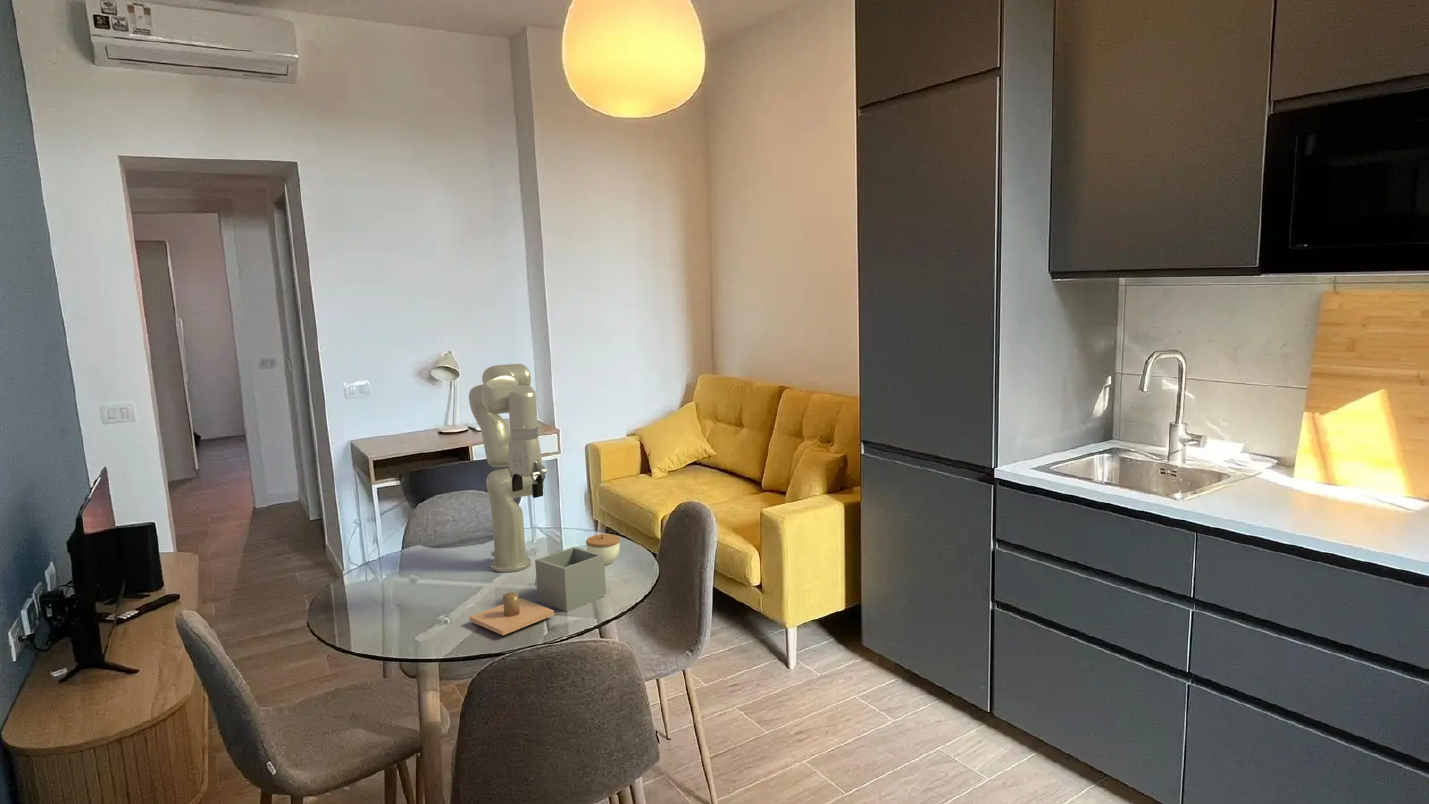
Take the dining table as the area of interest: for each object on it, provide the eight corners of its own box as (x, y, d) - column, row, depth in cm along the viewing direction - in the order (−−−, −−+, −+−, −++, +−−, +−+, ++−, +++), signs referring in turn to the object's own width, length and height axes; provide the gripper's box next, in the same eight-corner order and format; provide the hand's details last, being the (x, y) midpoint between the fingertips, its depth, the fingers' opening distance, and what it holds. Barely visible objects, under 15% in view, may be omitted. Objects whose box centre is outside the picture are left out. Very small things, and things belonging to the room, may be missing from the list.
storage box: (537, 600, 224) (535, 559, 223) (576, 586, 235) (574, 546, 233) (567, 611, 216) (564, 569, 214) (606, 595, 226) (603, 555, 225)
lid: (470, 624, 209) (467, 598, 208) (520, 605, 221) (519, 580, 220) (503, 639, 200) (501, 611, 199) (554, 618, 211) (552, 592, 210)
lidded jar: (627, 559, 257) (626, 531, 255) (606, 570, 248) (604, 541, 246) (602, 555, 262) (600, 527, 261) (580, 564, 253) (578, 536, 252)
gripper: (495, 432, 224) (498, 491, 227) (531, 440, 212) (534, 502, 215) (517, 428, 229) (521, 485, 232) (554, 435, 218) (557, 496, 221)
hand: (527, 493), depth 224 cm, fingers open, 9 cm apart
